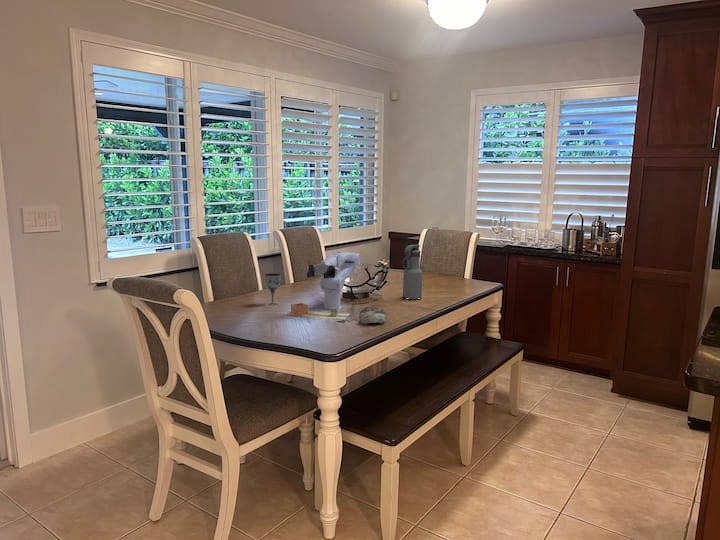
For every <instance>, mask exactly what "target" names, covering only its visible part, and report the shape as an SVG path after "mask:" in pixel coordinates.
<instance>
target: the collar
mask: <svg viewBox="0 0 720 540" xmlns="http://www.w3.org/2000/svg"><path fill="white" fill-rule="evenodd" d="M297 305H300V306H297ZM290 310H291V313H293V314H295V315H303V314H308V311H309V305H308V304H306V303H305V302H296V303H290Z"/></svg>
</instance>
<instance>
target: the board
mask: <svg viewBox="0 0 720 540" xmlns="http://www.w3.org/2000/svg"><path fill="white" fill-rule="evenodd" d="M297 306H300V305H297ZM338 311H339V309H338V307H331V309H330V311H320V310H319V311H318V310H308V314H303V315H295V314H293V313H291V309H289V310H288V311H287V312H285V313H284V314H282V317H294V318H296V317H298V318H307V319H308V318H309V319H310V318H311V319H323V320H336V321H335V323H344V324H345V322H346V321H347V317H349V315H351V313H349V312H338Z"/></svg>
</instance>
